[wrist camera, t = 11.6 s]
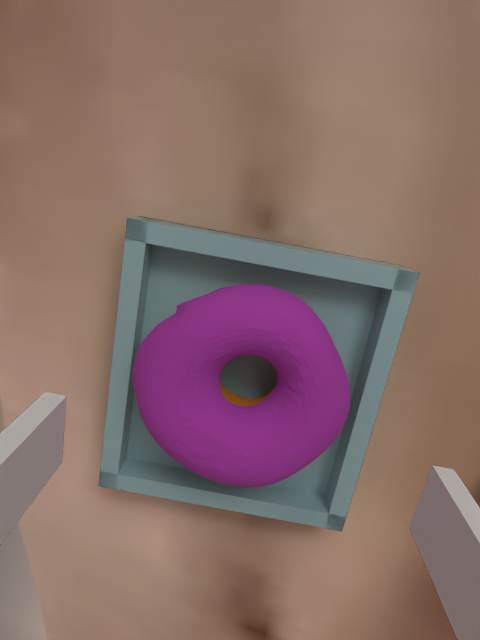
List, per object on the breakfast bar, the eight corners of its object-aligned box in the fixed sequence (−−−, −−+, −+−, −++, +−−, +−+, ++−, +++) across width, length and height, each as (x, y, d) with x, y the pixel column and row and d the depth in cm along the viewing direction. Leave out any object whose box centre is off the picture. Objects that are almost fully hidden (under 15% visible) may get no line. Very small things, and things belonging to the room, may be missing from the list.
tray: (139, 216, 22) (127, 218, 20) (404, 266, 22) (419, 273, 20) (111, 463, 27) (98, 486, 24) (335, 504, 27) (341, 531, 24)
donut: (366, 407, 24) (390, 454, 20) (210, 478, 26) (200, 535, 21) (282, 243, 22) (287, 254, 17) (116, 331, 24) (83, 362, 19)
